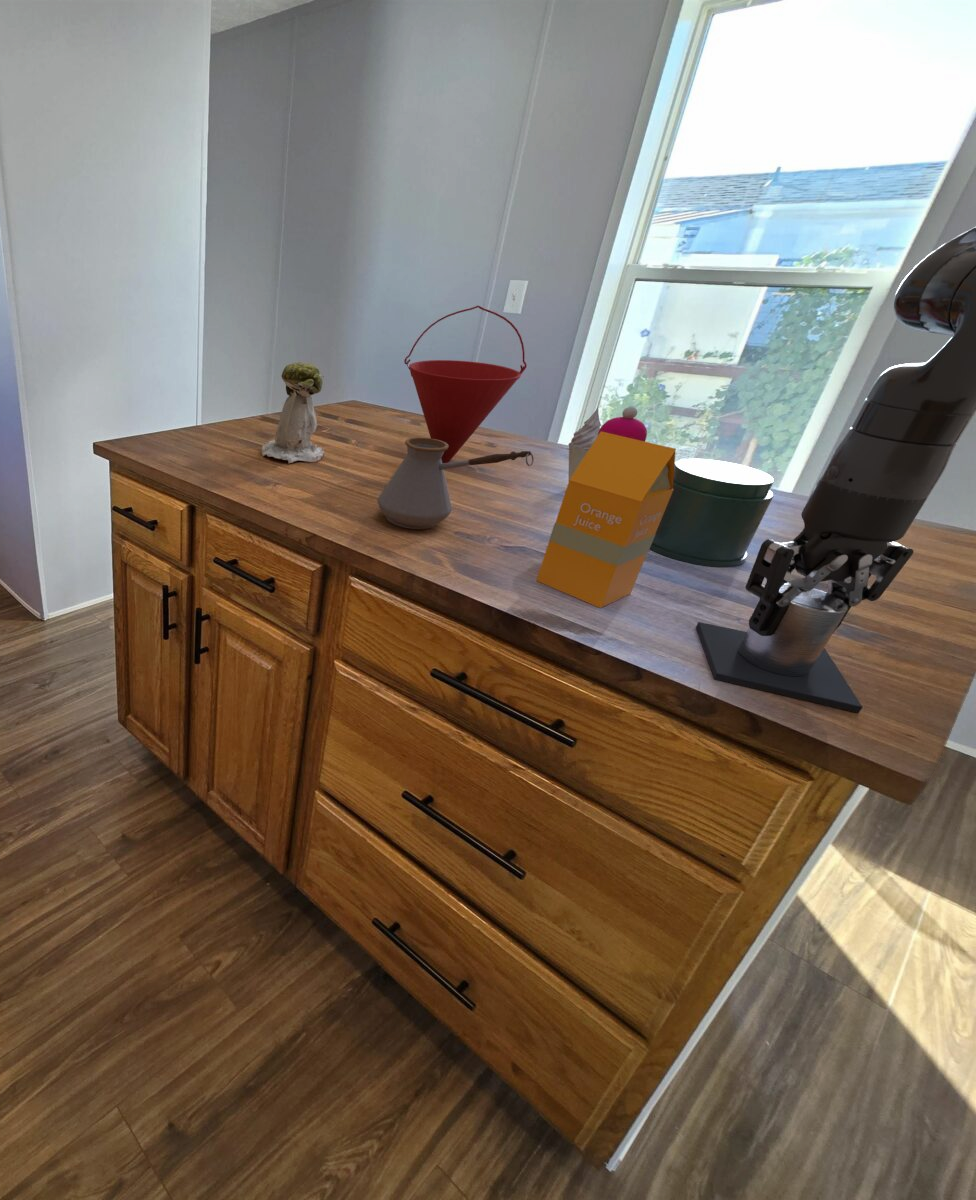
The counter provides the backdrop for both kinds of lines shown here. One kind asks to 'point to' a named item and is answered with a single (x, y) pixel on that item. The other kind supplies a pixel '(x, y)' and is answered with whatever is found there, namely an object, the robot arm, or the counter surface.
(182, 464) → the counter surface
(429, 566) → the counter surface
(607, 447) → the orange juice
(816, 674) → the mat
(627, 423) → the pepper mill
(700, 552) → the canister
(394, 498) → the coffee pot
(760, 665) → the silver cup
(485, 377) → the fire bucket
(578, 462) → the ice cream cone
